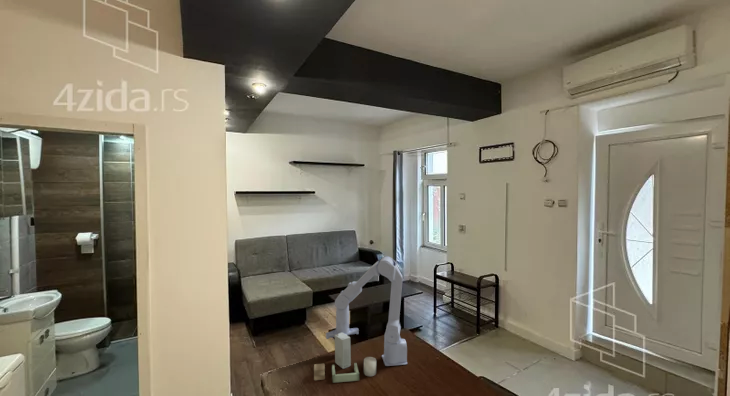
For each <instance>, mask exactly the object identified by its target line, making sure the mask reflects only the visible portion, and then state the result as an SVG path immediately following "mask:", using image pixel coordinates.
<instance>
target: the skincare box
mask: <svg viewBox="0 0 730 396" xmlns="http://www.w3.org/2000/svg"><path fill="white" fill-rule="evenodd" d="M351 350H352V349H351V337H350V335H349V336H347V335H346V334H344V333H343V332H342V333H339V334H336V335H335V337H334V359H335V360H334V363H335V364H336V365H338V366H339V367H340V368H341V369H342V370H344V369H348V368H349V367H351V365H352V364H351V363H352V358H351V357H352V355H351Z"/></svg>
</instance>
